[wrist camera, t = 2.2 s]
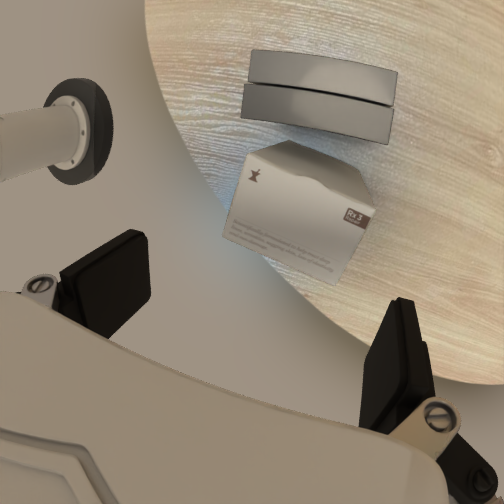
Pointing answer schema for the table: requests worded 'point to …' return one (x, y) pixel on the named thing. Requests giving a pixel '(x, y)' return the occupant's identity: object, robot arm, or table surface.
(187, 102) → the table surface
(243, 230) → the cosmetic box
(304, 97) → the grey box
